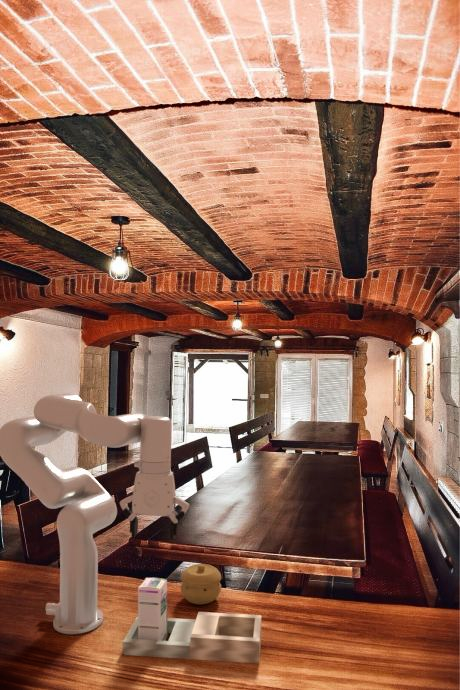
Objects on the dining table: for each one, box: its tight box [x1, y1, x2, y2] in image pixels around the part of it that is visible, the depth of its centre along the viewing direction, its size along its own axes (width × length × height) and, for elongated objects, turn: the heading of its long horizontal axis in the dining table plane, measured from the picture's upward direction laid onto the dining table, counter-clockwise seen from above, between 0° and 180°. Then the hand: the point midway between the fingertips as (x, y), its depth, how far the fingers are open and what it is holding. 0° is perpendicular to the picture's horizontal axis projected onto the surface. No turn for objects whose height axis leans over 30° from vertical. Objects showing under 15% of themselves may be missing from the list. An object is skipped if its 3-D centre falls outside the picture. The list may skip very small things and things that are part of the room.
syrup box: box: [137, 577, 168, 641], centre depth 127 cm, size 6×6×14 cm
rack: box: [122, 611, 262, 665], centre depth 125 cm, size 32×12×5 cm, turn 84°
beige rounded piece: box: [180, 563, 222, 605], centre depth 149 cm, size 12×12×10 cm
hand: (153, 536), depth 127 cm, fingers open, 9 cm apart
